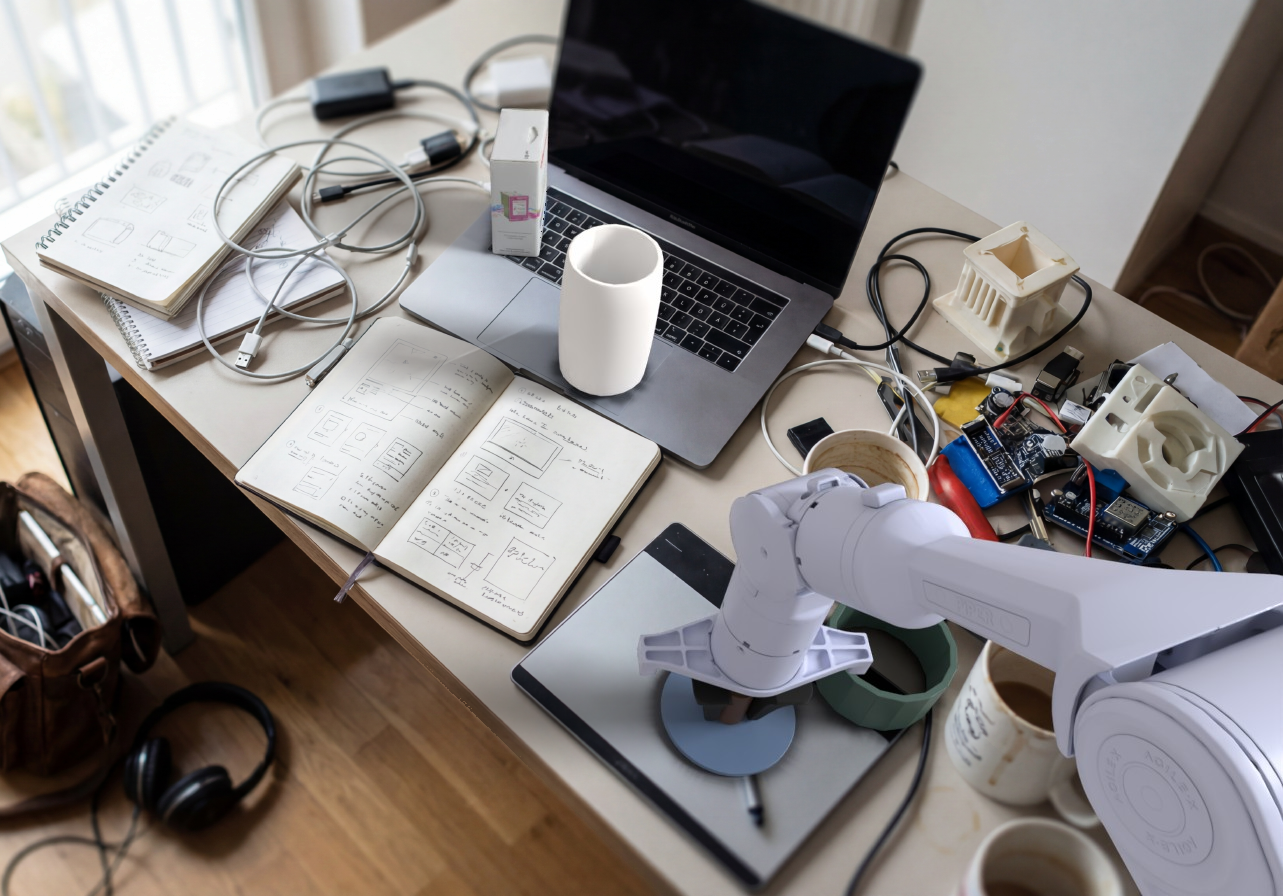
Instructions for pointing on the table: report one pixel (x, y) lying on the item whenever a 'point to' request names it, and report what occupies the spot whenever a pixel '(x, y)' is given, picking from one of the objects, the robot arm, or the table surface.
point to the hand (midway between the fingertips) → (729, 707)
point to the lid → (724, 731)
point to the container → (882, 706)
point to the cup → (608, 308)
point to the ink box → (519, 181)
